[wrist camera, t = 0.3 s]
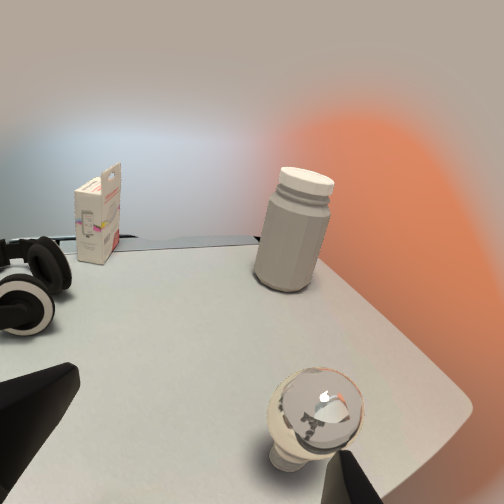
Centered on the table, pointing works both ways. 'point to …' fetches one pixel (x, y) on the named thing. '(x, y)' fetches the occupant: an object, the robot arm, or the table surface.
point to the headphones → (32, 285)
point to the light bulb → (313, 417)
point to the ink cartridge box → (98, 216)
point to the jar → (293, 229)
